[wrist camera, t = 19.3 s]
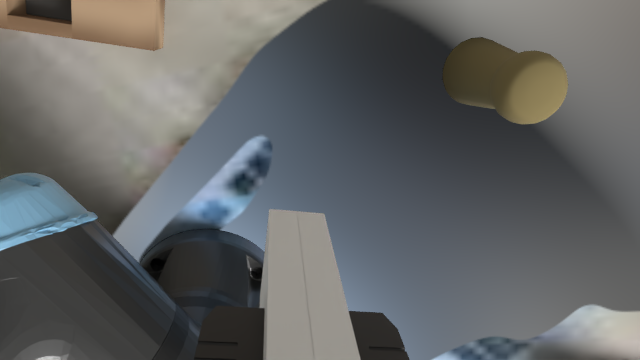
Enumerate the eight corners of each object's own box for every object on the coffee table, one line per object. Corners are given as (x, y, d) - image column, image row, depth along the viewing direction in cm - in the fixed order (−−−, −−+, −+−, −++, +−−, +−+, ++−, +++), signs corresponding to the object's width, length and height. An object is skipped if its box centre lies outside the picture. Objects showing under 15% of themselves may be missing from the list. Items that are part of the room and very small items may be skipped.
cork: (436, 102, 42) (489, 131, 31) (449, 34, 40) (510, 42, 29) (498, 107, 42) (569, 137, 32) (513, 40, 40) (595, 50, 30)
